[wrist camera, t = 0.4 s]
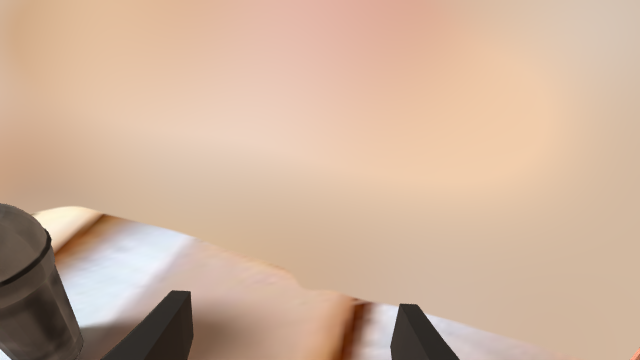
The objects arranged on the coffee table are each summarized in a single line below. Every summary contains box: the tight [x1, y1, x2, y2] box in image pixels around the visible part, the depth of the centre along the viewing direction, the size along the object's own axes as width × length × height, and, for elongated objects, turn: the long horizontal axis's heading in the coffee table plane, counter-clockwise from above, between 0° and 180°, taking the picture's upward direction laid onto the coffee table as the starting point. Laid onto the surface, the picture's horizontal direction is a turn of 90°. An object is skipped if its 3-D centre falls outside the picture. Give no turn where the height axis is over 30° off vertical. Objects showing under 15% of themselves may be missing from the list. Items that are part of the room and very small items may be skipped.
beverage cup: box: [0, 203, 83, 360], centre depth 28 cm, size 7×7×20 cm
